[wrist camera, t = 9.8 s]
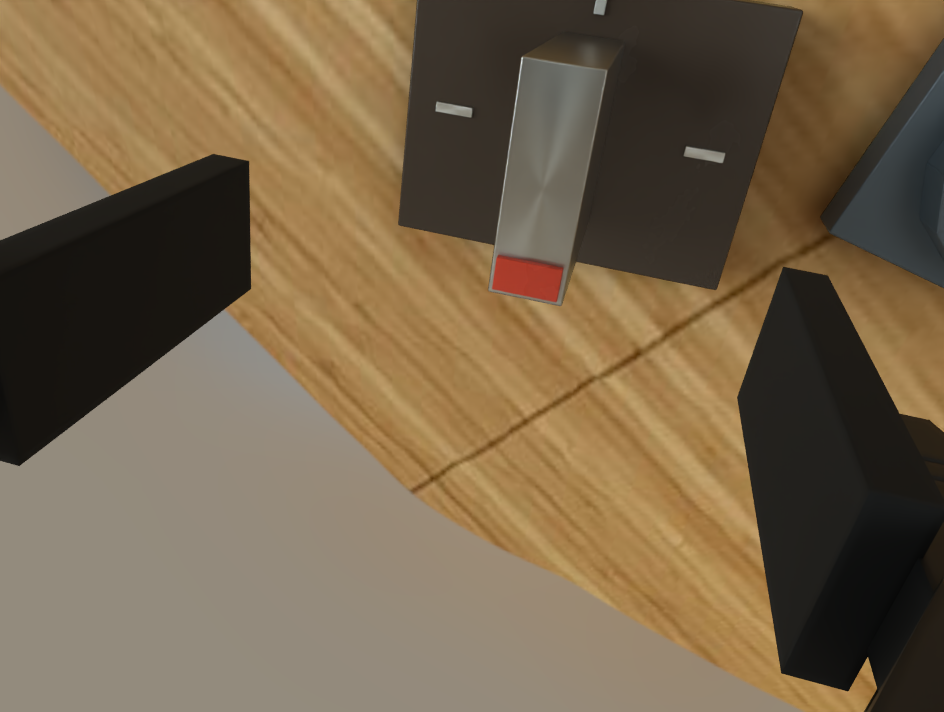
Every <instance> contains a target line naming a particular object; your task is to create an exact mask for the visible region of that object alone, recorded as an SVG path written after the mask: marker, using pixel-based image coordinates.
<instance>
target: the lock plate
mask: <svg viewBox="0 0 944 712" xmlns="http://www.w3.org/2000/svg"><path fill="white" fill-rule="evenodd" d="M802 15H803V11H802V10H800V9H797V8H794V7H790V6H783V5H777V4H770V3H763V2H757V1H750V0H417V8H416V19H415V31H414V43H413V55H412V67H411V79H410V91H409V102H408V114H407V126H406V138H405V150H404V162H403V174H402V185H401V197H400V209H399V221H398V224H399V225H400V226H404V227H409V228H414V229H419V230H424V231H429V232H434V233H439V234H444V235H448V236H453V237H458V238H463V239H468V240H473V241H478V242H483V243H488V244H492V245H495V238H496V231H497V224H498V217H499V210H500V203H501V196H502V189H503V182H504V175H505V168H506V161H507V154H508V147H509V140H510V133H511V126H512V119H513V112H514V105H515V98H516V91H517V84H518V77H519V70H520V63H521V57H522V56H523V55H525V54H527V53H528V52H530V51H532V50H534V49H535V48H537V47H539V46H540V45H542V44H544V43H545V42H547V41H549V40H550V39H552V38H554V37H556V36H557V35H559V34H561V33H562V32H569V33H575V34H582V35H588V36H595V37H601V38H608V39H614V40H621V41H625V46H624V51H623V56H622V61H621V65H620V70H619V75H618V80H617V85H616V90H615V95H614V100H613V105H612V110H611V115H610V119H609V124H608V129H607V134H606V139H605V144H604V149H603V154H602V159H601V164H600V169H599V173H598V178H597V183H596V188H595V193H594V198H593V203H592V208H591V213H590V218H589V222H588V225H587V228H586V231H585V234H584V237H583V241H582V244H581V247H580V250H579V253H578V256H577V259H576V262H580V263H585V264H590V265H595V266H600V267H605V268H610V269H615V270H619V271H624V272H629V273H634V274H639V275H644V276H649V277H654V278H659V279H663V280H668V281H673V282H678V283H683V284H688V285H693V286H698V287H702V288H707V289H712V290H716V289H717V287H718V284H719V281H720V278H721V274H722V271H723V268H724V265H725V262H726V258H727V255H728V252H729V249H730V246H731V242H732V239H733V236H734V233H735V230H736V226H737V223H738V220H739V217H740V214H741V210H742V207H743V204H744V201H745V197H746V194H747V191H748V188H749V185H750V181H751V178H752V175H753V172H754V169H755V165H756V162H757V159H758V156H759V153H760V149H761V146H762V143H763V140H764V137H765V133H766V130H767V127H768V124H769V121H770V117H771V114H772V111H773V108H774V104H775V101H776V98H777V95H778V92H779V88H780V85H781V82H782V79H783V76H784V72H785V69H786V66H787V63H788V60H789V56H790V53H791V50H792V47H793V44H794V40H795V37H796V34H797V31H798V28H799V24H800V21H801V18H802Z"/></svg>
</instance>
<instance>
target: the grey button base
mask: <svg viewBox="0 0 944 712" xmlns="http://www.w3.org/2000/svg"><path fill="white" fill-rule="evenodd" d="M820 218H821V220H822V222H823V223H824V225H825V227H826V228H827V230H828V232H829V233H830V234H832V235H834V236H836V237H838V238H840V239H842V240H844V241H847V242H849V243H851V244H853V245H855V246H857V247H859V248H861V249H863V250H865V251H867V252H869V253H872V254H874V255H876V256H878V257H880V258H882V259H884V260H886V261H888V262H890V263H892V264H894V265H897V266H899V267H901V268H903V269H905V270H907V271H909V272H911V273H913V274H915V275H917V276H919V277H922V278H924V279H926V280H928V281H930V282H932V283H934V284H936V285H938V286H940V287H942V288H944V39H943V40H942V42H941V43H940V45H939V46H938V48H937V49H936V50H935V52H934V53H933V55H932V56H931V58H930V59H929V61H928V62H927V63H926V65H925V66H924V68H923V69H922V71H921V72H920V74H919V75H918V76H917V78H916V79H915V81H914V82H913V84H912V85H911V87H910V88H909V89H908V91H907V92H906V94H905V95H904V97H903V98H902V100H901V101H900V102H899V104H898V105H897V107H896V108H895V110H894V111H893V113H892V114H891V115H890V117H889V118H888V120H887V121H886V123H885V124H884V126H883V127H882V128H881V130H880V131H879V133H878V134H877V136H876V137H875V139H874V140H873V141H872V143H871V144H870V146H869V147H868V149H867V150H866V152H865V153H864V154H863V156H862V157H861V159H860V160H859V162H858V163H857V165H856V166H855V167H854V169H853V170H852V172H851V173H850V175H849V176H848V178H847V179H846V180H845V182H844V183H843V185H842V186H841V188H840V189H839V191H838V192H837V193H836V195H835V196H834V198H833V199H832V201H831V202H830V204H829V205H828V206H827V208H826V209H825V211H824V212H823V214H822V215H821V217H820Z"/></svg>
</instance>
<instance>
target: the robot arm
mask: <svg viewBox="0 0 944 712" xmlns="http://www.w3.org/2000/svg"><path fill="white" fill-rule="evenodd" d="M250 289H251V256H250V190H249V161H246V160H241V159H236V158H231V157H226V156H221V155H216V154H212V155H210V156H207V157H205V158H202V159H200V160H197V161H195V162H193V163H190V164H188V165H185V166H183V167H180V168H178V169H175V170H173V171H170V172H168V173H165V174H163V175H161V176H158V177H156V178H153V179H151V180H148V181H146V182H143V183H141V184H138V185H136V186H133V187H131V188H129V189H126V190H124V191H121V192H119V193H116V194H114V195H111V196H109V197H106V198H104V199H101V200H99V201H96V202H94V203H92V204H89V205H87V206H84V207H82V208H80V209H77V210H74V211H72V212H69V213H67V214H65V215H62V216H60V217H57V218H55V219H52V220H50V221H47V222H45V223H42V224H40V225H38V226H35V227H33V228H30V229H27V230H25V231H23V232H20V233H18V234H15V235H13V236H10V237H8V238H5V239H3V240H0V461H3V462H7V463H11V464H15V465H18V466H20V465H21V464H22V463H24V462H25V461H26V460H28V459H29V458H30V457H31V456H33V455H34V454H36V453H37V452H38V451H39V450H41V449H42V448H43V447H45V446H46V445H47V444H49V443H50V442H51V441H52V440H54V439H55V438H56V437H58V436H59V435H60V434H62V433H63V432H64V431H65V430H67V429H68V428H69V427H71V426H72V425H73V424H75V423H76V422H77V421H79V420H80V419H81V418H83V417H84V416H85V415H86V414H88V413H89V412H90V411H92V410H93V409H94V408H96V407H97V406H98V405H100V404H101V403H102V402H103V401H105V400H106V399H107V398H109V397H110V396H111V395H113V394H114V393H115V392H117V391H118V390H119V389H121V387H123V386H124V385H126V384H127V383H128V382H130V381H131V380H132V379H134V378H135V377H136V376H138V375H139V374H140V373H141V372H143V371H144V370H145V369H146V368H148V367H149V366H151V365H152V364H153V363H154V362H156V361H157V360H158V359H160V358H161V357H162V356H164V355H165V354H166V353H167V352H169V351H170V350H171V349H173V348H174V347H175V346H177V345H178V344H179V343H181V342H182V341H183V340H185V339H186V338H187V337H189V336H190V335H191V334H192V333H194V332H195V331H196V330H198V329H199V328H200V327H202V326H203V325H204V324H206V323H207V322H208V321H209V320H211V319H212V318H213V317H214V316H216V315H217V314H218V313H220V312H221V311H223V310H224V309H225V308H226V307H228V306H229V305H230V304H232V303H233V302H234V301H236V300H237V299H238V298H240V297H241V296H242V295H243V294H245V293H246V292H247V291H249V290H250ZM737 399H738V405H739V412H740V418H741V424H742V430H743V437H744V443H745V449H746V455H747V462H748V468H749V474H750V480H751V487H752V493H753V499H754V505H755V512H756V518H757V524H758V530H759V537H760V543H761V549H762V555H763V561H764V568H765V574H766V580H767V586H768V593H769V599H770V605H771V611H772V618H773V624H774V630H775V636H776V643H777V649H778V655H779V661H780V668H781V673H782V674H786V675H790V676H793V677H797V678H801V679H804V680H808V681H812V682H815V683H819V684H823V685H827V686H830V687H834V688H838V689H841V690H845V691H849V689H850V687H851V685H852V684H853V682H854V680H855V678H856V677H857V675H858V673H859V671H860V669H861V668H862V666H863V664H864V662H865V661H866V659H867V657H868V658H869V661H870V665H871V668H872V672H873V675H874V679H875V682H876V686H877V690H876V692H875V694H874V695H873V697H872V699H871V700H870V702H869V704H868V705H867V707H866V709H865V711H864V712H944V432H943V431H942V430H940V429H939V428H938V427H937V426H936V425H934V424H933V423H932V422H931V421H930V420H926V419H921V418H917V417H912V416H908V415H903V414H899V412H898V410H897V408H896V406H895V404H894V402H893V400H892V398H891V396H890V395H889V393H888V391H887V389H886V387H885V385H884V383H883V381H882V379H881V377H880V375H879V373H878V371H877V369H876V368H875V366H874V364H873V362H872V360H871V358H870V356H869V354H868V352H867V350H866V348H865V346H864V344H863V343H862V341H861V339H860V337H859V335H858V333H857V331H856V329H855V327H854V325H853V323H852V321H851V319H850V317H849V316H848V314H847V312H846V310H845V308H844V306H843V304H842V302H841V300H840V298H839V296H838V294H837V292H836V291H835V289H834V287H833V285H832V283H831V281H830V279H829V277H828V276H827V275H822V274H817V273H812V272H807V271H802V270H797V269H792V268H787V267H783V269H782V272H781V275H780V278H779V281H778V283H777V286H776V289H775V292H774V295H773V298H772V300H771V303H770V306H769V309H768V312H767V315H766V317H765V320H764V323H763V326H762V329H761V332H760V334H759V337H758V340H757V343H756V346H755V349H754V351H753V354H752V357H751V360H750V363H749V366H748V368H747V371H746V374H745V377H744V380H743V383H742V385H741V388H740V391H739V394H738V397H737Z"/></svg>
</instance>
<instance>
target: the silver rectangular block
mask: <svg viewBox="0 0 944 712" xmlns="http://www.w3.org/2000/svg"><path fill="white" fill-rule="evenodd" d="M624 46H625V41H621V40H614V39H608V38H601V37H595V36H588V35H582V34H575V33H569V32H562V33H561V34H559V35H557V36H556V37H554V38H552V39H550V40H549V41H547V42H545V43H544V44H542V45H540V46H539V47H537V48H535V49H534V50H532V51H530V52H528V53H527V54H525V55H523V56H522V57H521V63H520V70H519V77H518V84H517V91H516V98H515V105H514V112H513V119H512V126H511V133H510V140H509V147H508V154H507V161H506V168H505V175H504V182H503V189H502V196H501V203H500V210H499V217H498V224H497V231H496V238H495V245H494V252H493V259H492V266H491V273H490V280H489V287H488V291H490V292H495V293H500V294H504V295H509V296H514V297H519V298H524V299H529V300H534V301H538V302H543V303H548V304H553V305H558V306H561V305H562V303H563V300H564V297H565V294H566V291H567V288H568V285H569V281H570V278H571V275H572V272H573V269H574V266H575V263H576V259H577V256H578V253H579V250H580V247H581V244H582V241H583V237H584V234H585V231H586V228H587V225H588V222H589V218H590V213H591V208H592V203H593V198H594V193H595V188H596V183H597V178H598V173H599V169H600V164H601V159H602V154H603V149H604V144H605V139H606V134H607V129H608V124H609V119H610V115H611V110H612V105H613V100H614V95H615V90H616V85H617V80H618V75H619V70H620V65H621V61H622V56H623V51H624Z"/></svg>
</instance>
